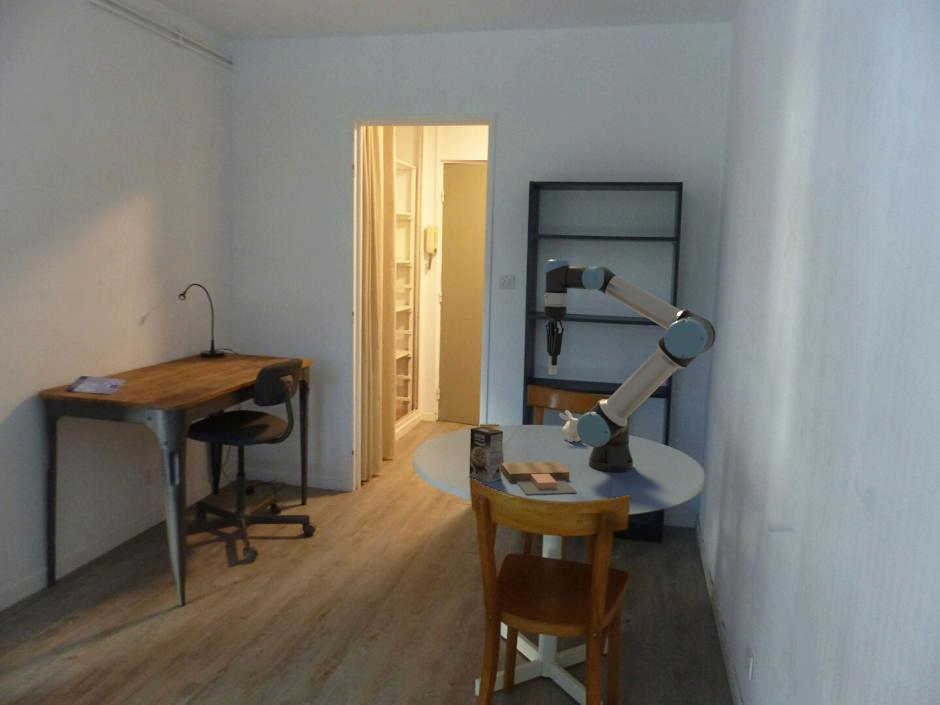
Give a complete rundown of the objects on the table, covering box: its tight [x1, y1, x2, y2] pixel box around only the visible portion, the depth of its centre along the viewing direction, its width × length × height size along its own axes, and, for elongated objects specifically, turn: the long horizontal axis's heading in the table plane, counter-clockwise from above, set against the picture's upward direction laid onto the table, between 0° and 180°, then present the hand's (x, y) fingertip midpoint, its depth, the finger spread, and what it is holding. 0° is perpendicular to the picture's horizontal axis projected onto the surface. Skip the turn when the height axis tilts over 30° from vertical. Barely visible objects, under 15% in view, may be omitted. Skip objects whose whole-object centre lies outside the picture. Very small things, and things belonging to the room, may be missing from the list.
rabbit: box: [559, 409, 581, 443], centre depth 281 cm, size 12×9×12 cm
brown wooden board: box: [501, 461, 570, 483], centre depth 231 cm, size 20×12×3 cm, turn 100°
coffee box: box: [468, 426, 504, 483], centre depth 226 cm, size 9×6×16 cm
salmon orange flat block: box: [531, 474, 557, 489], centre depth 221 cm, size 9×6×2 cm, turn 10°
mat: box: [515, 479, 578, 496], centre depth 219 cm, size 16×13×1 cm
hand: (552, 374), depth 239 cm, fingers closed
